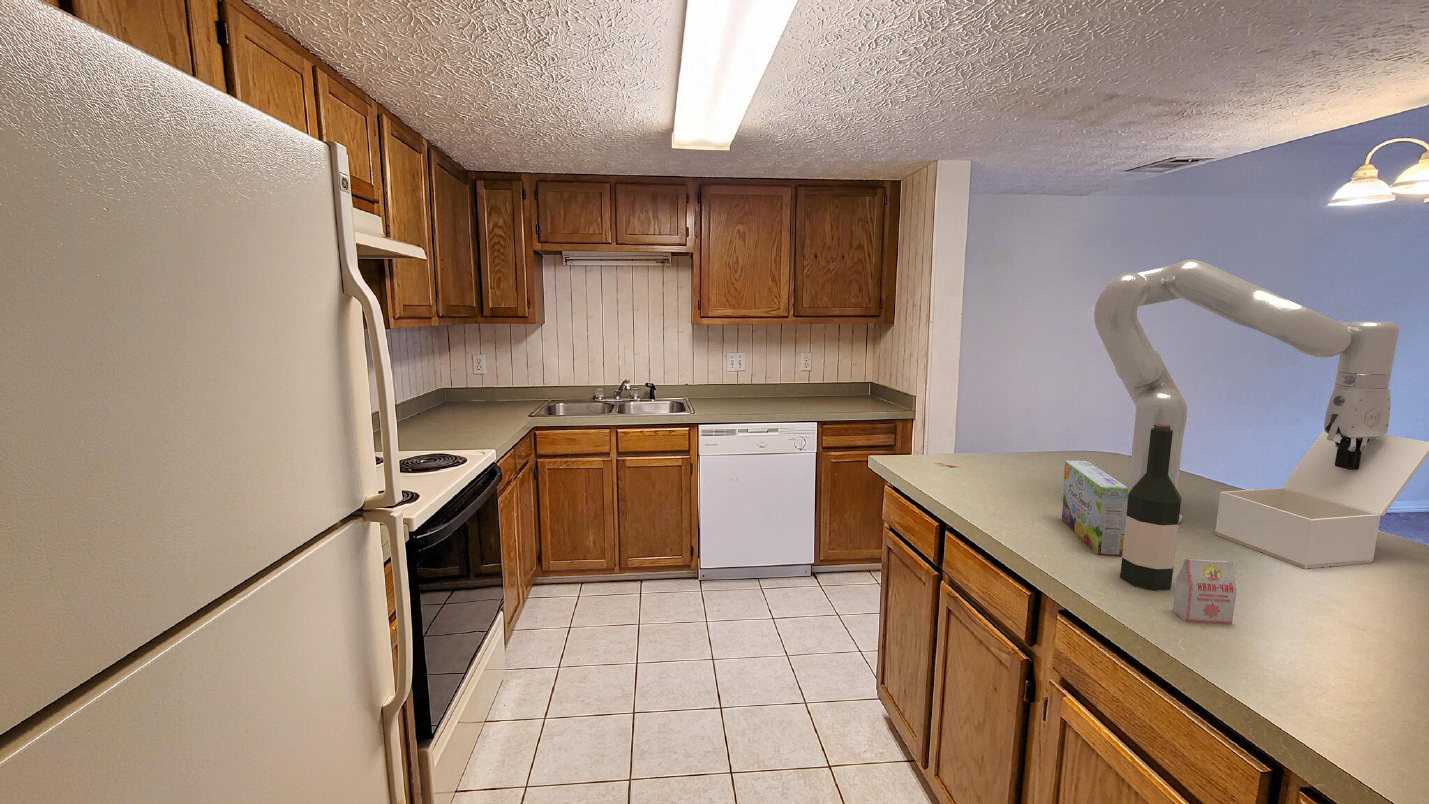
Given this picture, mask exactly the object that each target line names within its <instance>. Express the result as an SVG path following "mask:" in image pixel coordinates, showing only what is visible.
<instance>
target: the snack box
mask: <svg viewBox="0 0 1429 804" xmlns="http://www.w3.org/2000/svg"><path fill="white" fill-rule="evenodd" d="M1128 487H1129V486H1126V485H1125V484H1123V483H1122V482H1120V481H1118V480H1117V479H1116V478H1114V477H1112V476H1111V475H1110V474H1108V473H1106V472H1105V471H1103V470H1102V469H1100V468H1098V466H1096V465H1094V464H1093V463H1091V462H1089V460H1064V475H1063V492H1062V509H1061V511H1062V512H1061V520H1062V521H1063V522H1064V523H1065V524H1066V525H1067V526H1068V527H1069V528H1070V529H1071V530H1072V531H1073V532H1074V533H1075V534H1076V535H1077V536H1078V537H1079V538H1080V539H1081V540H1082V541H1083V543H1085V544H1086V545H1087V546H1088V547H1089V549H1090V550H1092V552H1094V554H1096V555H1098V556H1101V555H1102V556H1116V557H1117V556H1119V557H1120V556H1121V557H1122V553H1123V544H1124V534H1125V524H1126V513H1127V501H1128V491H1129V488H1128Z"/></svg>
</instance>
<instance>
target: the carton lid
mask: <svg viewBox="0 0 1429 804" xmlns="http://www.w3.org/2000/svg"><path fill="white" fill-rule="evenodd" d="M1327 436H1328V433H1326V432H1325V431H1324V429H1323V430H1322V431H1321V433H1320V434H1319V436H1318V437H1317V438H1316V440H1315V441H1314V442H1313V443H1312V445H1311V447H1309V449H1308V451H1307V452H1306V453H1305V454H1304V456H1303V457H1302V459H1301V460H1300V462H1299V463H1298V464H1297V466H1296V467H1295V469H1294V470H1292V472H1291V474H1290V475H1289V477H1288V478H1287V480H1286V481H1285V482H1284V484H1283V485H1282V486H1281V488H1285V489H1288V490H1292V491H1295V492H1299V493H1303V494H1306V495H1310V496H1314V497H1317V498H1321V499H1325V500H1328V501H1332V502H1335V503H1339V504H1343V505H1346V506H1350V507H1354V508H1357V509H1361V510H1365V511H1368V512H1372V513H1375V514H1379V515H1381V517H1384V516H1385V515H1386V514H1387V512H1388V511H1389V510H1390V508H1391V507H1392V505H1393V504H1394V503H1395V502H1396V500H1397V499H1398V497H1399V496H1400V495H1401V493H1402V492H1403V490H1404V489H1405V488H1406V486H1408V484H1409V483H1410V481H1411V479H1412V478H1414V475H1415V474H1416V473H1417V472H1418V471H1419V470H1420V468H1421V466H1422V465H1423V463H1424V462H1425V461H1426V459H1428V457H1429V441H1426V440H1420V439H1413V438H1410V437H1409V438H1407V437H1402V436H1396V435H1389V434H1386V435H1384V436H1381V437H1376V439H1375V440H1373V441H1370V442H1368V443H1367V444H1366V447H1365V449H1364V451H1362V454H1361V459H1360V465H1359V469H1358V470H1348V469H1344V468H1340V467H1336V466H1335V460H1336V454H1337V448H1336V447H1335V442H1332V441H1328V440H1327Z"/></svg>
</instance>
